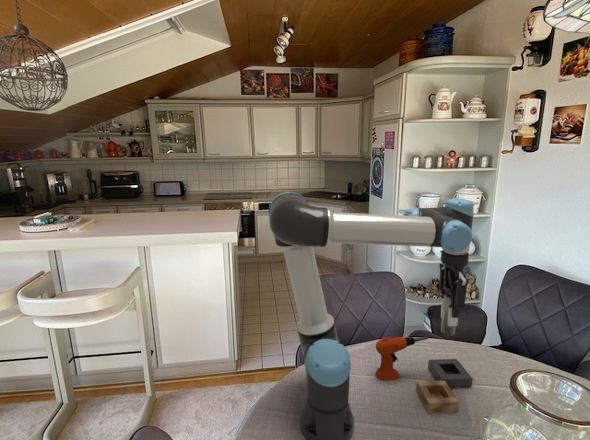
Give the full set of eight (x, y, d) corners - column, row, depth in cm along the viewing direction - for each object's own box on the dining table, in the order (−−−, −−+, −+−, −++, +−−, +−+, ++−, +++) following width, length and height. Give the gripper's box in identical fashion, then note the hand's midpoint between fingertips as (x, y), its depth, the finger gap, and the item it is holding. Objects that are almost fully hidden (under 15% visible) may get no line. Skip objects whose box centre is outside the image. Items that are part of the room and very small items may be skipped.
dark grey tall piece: (440, 336, 105) (444, 291, 102) (433, 328, 110) (437, 285, 106) (462, 335, 105) (467, 291, 102) (455, 327, 110) (459, 284, 106)
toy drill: (432, 372, 115) (431, 334, 111) (379, 383, 113) (376, 344, 109) (425, 363, 119) (424, 326, 116) (373, 373, 118) (371, 336, 114)
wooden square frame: (428, 413, 100) (429, 403, 99) (416, 391, 108) (417, 381, 108) (458, 411, 100) (459, 401, 99) (443, 390, 109) (444, 380, 108)
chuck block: (441, 388, 109) (442, 379, 109) (427, 368, 119) (428, 359, 118) (471, 387, 110) (472, 378, 109) (455, 367, 120) (456, 358, 119)
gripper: (484, 260, 93) (475, 336, 99) (453, 241, 110) (447, 307, 115) (457, 261, 93) (449, 337, 98) (430, 242, 109) (425, 308, 115)
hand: (448, 321), depth 107 cm, fingers closed on dark grey tall piece, 4 cm apart
